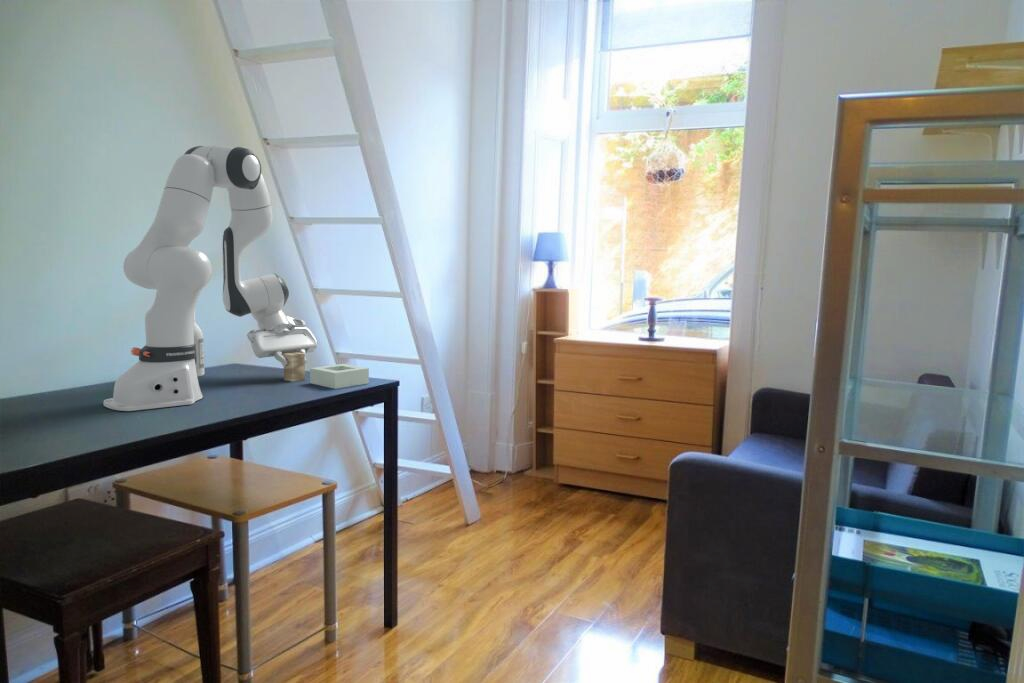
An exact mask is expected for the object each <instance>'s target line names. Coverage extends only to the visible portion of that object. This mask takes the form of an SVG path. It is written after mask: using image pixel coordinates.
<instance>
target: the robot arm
mask: <svg viewBox="0 0 1024 683" xmlns="http://www.w3.org/2000/svg"><path fill="white" fill-rule="evenodd" d="M214 187H215V188H221V189H226V190H227V191H228V200H229V206H230V210H231V211H230V212H231V216H230V222H229V224H228V227H227V228H225V229H224V231H223V235H222V265H223V266H222V268H223V269H222V274H223V284H222V302H223V305H224V307H225V310H226V311H227V312H228V313H229V314H231V315H233V316H235V317H239V318H240V317H243V316H246V315H252V317H253V319H254V320H255V321H256V323H257V326H258V328H259V329H256V330H254V329H253V330H249V332H247V335H246V336H247V338H248V341H249V342H250V345H251V348H252V351H253V353H254V355H255V356H256V357H257V358H259V359H262V358H263V359H264V358H271V357H272V358H273V357H274V358H275V360H277V362H279V363H281V365H282V367H284V366H288V365H289V364H290V362H289V360H288V358H284V357H283V353H293V352H298V353H304V354H305V355H306V354H308V353H309V354H310V353H314V351H315V350H316V349H317V346H318V341H317V338H316V337H315V335H314V334H313V332H312V330H311V329H309V328H308V327H307V326H306V321H305V320H302V319H299V318H293V317H291V316H288V315H286V313H285V312H284V311H283V308H284V307H285V305H286V303H287V301H288V299H289V295H290V291H289V288H288V286H287V283H286V282H285V280H284V279H283V278H282V277H281V276H280V275H278V274H276V273H270V274H265V275H261V276H257V277H254V278H249V279H246V280H242V278H241V255H242V253H243V251H244V250H245V248H247V247H248V245H250V244H252V243H253V242H254V241H256V240H258V239H259V238H261V237H263V236H264V235H265V234H266V233H267V232H268V231H269V230H270V229H271V226H272V224H273V221H274V215H273V214H274V213H273V208H272V203H271V198H270V197H271V196H270V194H269V190H268V187H267V184H266V180H265V178H264V176H263V174H262V165H261V161H260V159H259V158H258V155H256V153H255V152H254V151H253V150H251V149H249V148H245V147H242V146H236V147H234V146H227V145H226V146H225V145H221V144H218V145H216V144H215V145H206V146H205V145H198V146H197V145H196V146H193V147H191V148H189V149H187V151H185V152H184V154H182V155H180V156H179V157H178V158H176V160H175V162H174V164H173V166H172V168H171V169H170V172H169V174H168V177H167V179H166V182H165V185H164V189H163V192H162V196H161V197H160V198H161V199H160V203H159V206H158V209H157V211H156V214H155V218H154V219H153V222H151V223H152V224H151V225H150V227H149V229H148V231H147V232H146V234H145V235H144V237H143V238H142V240H141V241H140V242H139V244H137V246H136V247H135V248H134V249H132V250H131V251H130V252H128V254H127V255H126V256H125V258H124V260H123V272H124V275H125V277H126V278H127V279H128V281H129V282H131V283H132V284H134V285H136V286H139V287H140V288H144V289H148V290H156V294H155V297H154V301H153V304H152V306H151V308H149V309H148V310H147V312H146V313H145V314H144V315H145V316H144V325H145V326H144V327H145V328H144V329H145V345H144V346H143V347H142V348H139V347H136V346H135V347H132V348H131V349H130V354H131V355H132V356H136V357H138V361H137V362H136V363H135V364H134V365H132V366H131V367H130V368H129V369H128V370H127V371H125V372H124V373H123V374H121V375H120V376H118V377H117V379H116V380H115V383H114V385H113V386H114V387H113V394H112V395H113V396H112V397H110V398H107V399H104V400H103V407H106V408H107V409H110V410H115V411H122V412H133V411H143V410H151V409H161V408H168V407H177V406H178V407H179V406H187V405H193V404H194V403H195V402H196V401H199V400H201V399H202V398H203V397H204V395H203V393H202V391H201V387H200V383H199V379H198V378H199V377H197V372H196V361H197V354H196V344H194V311H196V305H197V302H198V299H199V296H200V294H201V291H202V290H203V289H204V287H206V286H207V284H208V283H209V282H210V280H211V278H212V275H213V267H212V263H211V261H210V259H209V257H208V256H207V255H206V254H205V253H204V252H202V251H199V250H196V249H194V248H190V247H189V245H190V244H191V243H192V242H193V240H195V238H197V237H198V236H199V235H200V234H201V233H202V232H203V230H204V227H205V223H206V219H207V215H208V213H209V207H210V205H211V200H212V197H213V196H212V195H213V192H214V191H213V190H214ZM306 363H307V358H306V357H305V364H306Z"/></svg>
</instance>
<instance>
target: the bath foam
mask: <svg viewBox="0 0 1024 683" xmlns="http://www.w3.org/2000/svg"><path fill="white" fill-rule="evenodd" d="M194 344H196V354H197V361H196V372H197V378H199V377H203V376H205V355H204V354H205V349H204V348H205V347H204V334H203V331H202V329H201V328H200V327H199V325H198V324H197V322H196V310H194Z"/></svg>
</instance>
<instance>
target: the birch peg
mask: <svg viewBox="0 0 1024 683" xmlns="http://www.w3.org/2000/svg"><path fill="white" fill-rule="evenodd" d="M283 357H284V358H288V360H289V362H290V364H289V365H288V366H283V381H287V382H292V383H293V382H299V381H301V382H302V381H306V363H305V358H306V353H305V354H304V353H298V352H293V353H283Z"/></svg>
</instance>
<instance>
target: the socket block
mask: <svg viewBox="0 0 1024 683" xmlns="http://www.w3.org/2000/svg"><path fill="white" fill-rule="evenodd" d="M369 370H370V369H369V368H368V367H363V366H358V365H352V364H348V363H347V364H346V363H341V364H340V363H338V364H332V365H324V366H315V367H311V368H310V367H309V380H310V382H309V383H310V384H312V385H316V386H321V387H326V388H330V389H335V390H336V389H343V388H348V387H354V386H356V387H357V386H361V385H367V384H370V378H369V377H370V372H369Z"/></svg>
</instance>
